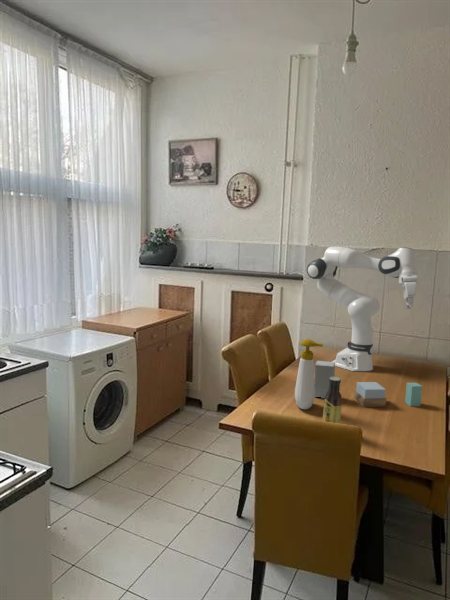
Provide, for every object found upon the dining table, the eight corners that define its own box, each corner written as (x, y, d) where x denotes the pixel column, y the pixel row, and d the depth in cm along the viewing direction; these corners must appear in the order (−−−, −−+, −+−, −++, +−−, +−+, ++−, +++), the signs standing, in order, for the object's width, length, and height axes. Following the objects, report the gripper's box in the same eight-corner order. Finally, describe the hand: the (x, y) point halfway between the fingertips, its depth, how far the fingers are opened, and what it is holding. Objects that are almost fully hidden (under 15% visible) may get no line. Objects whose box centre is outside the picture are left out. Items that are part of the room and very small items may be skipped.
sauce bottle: (319, 425, 166) (323, 375, 163) (335, 425, 166) (339, 375, 163) (325, 433, 159) (328, 380, 156) (341, 433, 160) (345, 381, 157)
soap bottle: (319, 414, 176) (324, 344, 172) (293, 411, 178) (297, 342, 174) (318, 402, 189) (323, 336, 184) (294, 400, 191) (298, 335, 186)
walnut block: (353, 398, 196) (354, 390, 195) (374, 398, 197) (375, 390, 196) (363, 407, 186) (364, 398, 185) (385, 407, 187) (386, 398, 186)
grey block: (356, 390, 194) (356, 382, 194) (375, 390, 195) (376, 382, 195) (364, 398, 185) (365, 389, 185) (384, 398, 186) (385, 389, 186)
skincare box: (333, 395, 198) (336, 361, 195) (332, 400, 191) (334, 366, 189) (314, 392, 201) (317, 359, 198) (312, 398, 194) (315, 363, 191)
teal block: (404, 402, 192) (406, 382, 191) (414, 402, 193) (416, 382, 192) (410, 406, 188) (412, 386, 187) (420, 406, 188) (422, 386, 187)
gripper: (400, 283, 226) (401, 309, 224) (403, 277, 206) (404, 306, 205) (413, 282, 224) (414, 309, 222) (417, 276, 204) (419, 306, 203)
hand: (410, 307), depth 213 cm, fingers open, 8 cm apart
